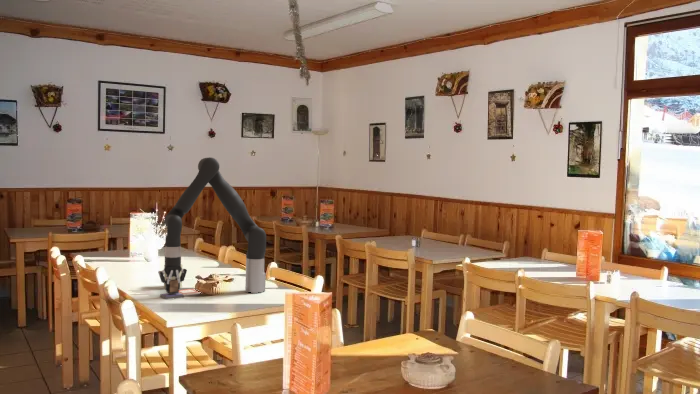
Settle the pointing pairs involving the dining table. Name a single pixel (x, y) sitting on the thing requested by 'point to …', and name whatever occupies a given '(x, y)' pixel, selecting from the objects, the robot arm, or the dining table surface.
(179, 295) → the ink pad
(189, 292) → the print board
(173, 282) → the stamp
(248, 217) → the robot arm
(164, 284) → the can
